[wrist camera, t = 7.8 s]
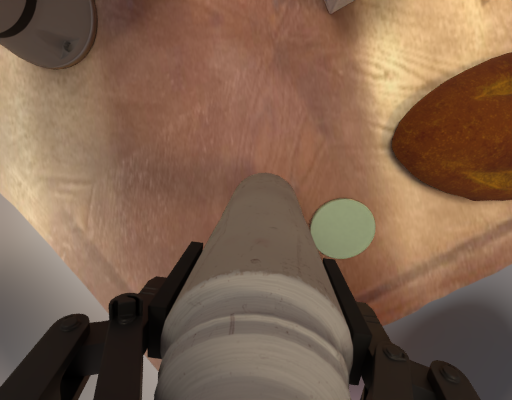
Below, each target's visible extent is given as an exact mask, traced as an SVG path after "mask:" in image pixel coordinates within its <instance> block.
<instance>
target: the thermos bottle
mask: <svg viewBox="0 0 512 400" xmlns="http://www.w3.org/2000/svg"><path fill="white" fill-rule="evenodd" d="M160 353H161V358H162V362H161V365H160V369H159V372H158V384H157V387H156V390H155V394H154V400H351V397H350V393H349V375H350V371H351V368H352V364H353V345H352V340H351V336H350V331H349V328H348V325H347V323H346V320H345V318H344V315H343V313H342V310H341V308H340V305H339V303H338V300H337V298H336V295H335V293H334V290H333V288H332V285H331V283H330V280H329V278H328V275H327V273H326V270H325V268H324V265H323V263H322V260H321V258H320V255H319V253H318V250H317V248H316V245H315V242H314V240H313V237H312V235H311V232H310V230H309V227H308V225H307V223H306V221H305V219H304V217H303V215H302V211H301V207H300V205H299V202H298V200H297V197H296V195H295V193H294V191H293V188H292V187H291V186H290V185H289V183H288V182H286V181H285V180H284V179H283V178H281V177H279V176H277V175H274V174H270V173H258V174H254V175H251V176H249V177H247V178H246V179H244V180H243V181H242V182H241V183H240V184H239V185H238V186H237V188H236V190H235V191H234V193H233V195H232V197H231V199H230V201H229V203H228V205H227V206H226V208H225V210H224V212H223V214H222V217H221V219H220V221H219V222H218V224H217V226H216V227H215V229H214V231H213V233H212V234H211V236H210V238H209V240H208V242H207V244H206V245H205V247H204V249H203V251H202V253H201V255H200V257H199V259H198V260H197V262H196V264H195V266H194V268H193V270H192V272H191V273H190V275H189V277H188V279H187V281H186V283H185V285H184V286H183V288H182V290H181V292H180V294H179V296H178V298H177V299H176V301H175V303H174V305H173V307H172V309H171V311H170V313H169V314H168V316H167V318H166V320H165V324H164V327H163V331H162V334H161V348H160Z"/></svg>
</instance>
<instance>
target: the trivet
mask: <svg viewBox="0 0 512 400" xmlns="http://www.w3.org/2000/svg"><path fill="white" fill-rule="evenodd" d="M310 232H311V235H312V237H313V240H314V242H315V245H316V248H317V249H318V250H319V251H320V252H322V253H323V254H325V255H327V256H329V257H332V258H337V259H345V258H350V257H353V256H356V255H358V254H360V253H361V252H362V251H364V250H365V249H366V248H367V247H368V246H369V244H370V243H371V241H372V239H373V237H374V234H375V220H374V217H373V215H372V213H371V212H370V210H369V209H368V208H367V207H366V206H365V205H363V204H362V203H360V202H359V201H356V200H354V199H349V198H339V199H334V200H331V201H329V202H327V203H325V204H324V205H322V206H321V207H320V208H319V209H318V210H317V211H316V213H315V214H314V216H313V218H312V220H311V224H310Z"/></svg>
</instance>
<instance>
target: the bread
mask: <svg viewBox="0 0 512 400" xmlns="http://www.w3.org/2000/svg"><path fill="white" fill-rule="evenodd" d="M392 149H393V151H394V153H395V155H396V157H397V159H398V160H399V161H400V162H401V163H402V164H403V165H404V166H405V167H406V168H407V169H408V170H409V172H410V173H411V174H413V175H414V176H415V177H417V178H418V179H420V180H421V181H422V182H424V183H426V184H428V185H430V186H433V187H435V188H437V189H439V190H441V191H444V192H446V193H450V194H454V195H458V196H461V197H465V198H468V199H470V200H473V201H485V200H500V201H503V200H512V53H507V54H504V55H501V56H498V57H495V58H492V59H490V60H488V61H485V62H483V63H481V64H479V65H477V66H474V67H472V68H470V69H468V70H466V71H464V72H462V73H460V74H458V75H457V76H455V77H453V78H451V79H449V80H447V81H445V82H444V83H443V84H441V85H440V86H438V87H437V88H435V89H434V90H433V91H431V92H430V93H429V94H427V95H426V96H425V97H424V98H423V99H421V100H420V101H419V102H418V103H417V104H415V105H414V106H413V107H412V108H411V109H410V111H409V112H408V113H407V114H406V115H405V116H404V118H403V119H402V120H401V121H400V122H399V125H398V127H397V129H396V131H395V134H394V136H393V138H392Z"/></svg>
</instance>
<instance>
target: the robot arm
mask: <svg viewBox="0 0 512 400" xmlns="http://www.w3.org/2000/svg"><path fill="white" fill-rule="evenodd" d="M96 31H97V12H96V7H95V3H94V0H0V44H1V45H2V46H4V47H5V48H7V49H8V50H10V51H11V52H12V53H14V54H15V55H17V56H18V57H20V58H22V59H24V60H26V61H28V62H30V63H32V64H35V65H38V66H42V67H45V68H50V69H64V68H68V67H71V66H73V65H75V64H77V63H78V62H80V61H81V60H82V59H83V58H84V57H85V56H86V55H87V54H88V52H89V51H90V49H91V47H92V45H93V43H94V40H95V36H96ZM202 251H203V243H200V242H191V243H190V245H189V246H188V248H187V249H186V251H185V252H184V254H183V255H182V257H181V258H180V260H179V261H178V262H177V264H176V265H175V267H174V268H173V270H172V271H171V273H170V274H169V276H168V277H167V278H164V277H157V276H156V277H154V278H153V279H151V280H149V281H148V282H147V284H146V285H145V286H144V288H143V289H142V290H141V291H140V293H139V294H136V293H125V294H121V295H119V296H116V297H115V298H113V299H112V300H111V301H110V303H109V320H108V321H102V322H93V323H89V318H88V316H86V315H84V314H71V315H68V316H65V317H63V318H61V319H59V320H57V321H56V322H55V323H54V324H53V325H52V326H51V327H50V328H49V330H48V331H47V332H46V333H45V334H44V336H43V337H42V338H41V339H40V341H39V342H38V343H37V344H36V345H35V346H34V348H33V349H32V350H31V351H30V352H29V353H28V355H27V356H26V357H25V358H24V359H23V361H22V362H21V363H20V364H19V366H18V367H17V368H16V369H15V370H14V371H13V373H12V374H11V375H10V376H9V377H8V379H7V380H6V381H5V382H4V383H3V385H2V386H1V387H0V400H78V398H79V397H80V394H81V393H82V391H83V389H84V387H85V385H86V383H87V381H88V379H89V377H90V375H94V374H98V379H97V384H96V389H95V394H94V399H93V400H142V379H143V355H144V353H145V352H146V350H147V348H148V357H151V358H158V359H162V358H161V353H160V348H161V334H162V331H163V327H164V324H165V320H166V318H167V316H168V314H169V313H170V311H171V309H172V307H173V305H174V303H175V301H176V299H177V298H178V296H179V294H180V292H181V290H182V288H183V286H184V285H185V283H186V281H187V279H188V277H189V275H190V273H191V272H192V270H193V268H194V266H195V264H196V262H197V260H198V259H199V257H200V255H201V253H202ZM322 263H323V265H324V268H325V270H326V273H327V275H328V278H329V280H330V283H331V285H332V288H333V290H334V293H335V295H336V298H337V300H338V303H339V305H340V308H341V310H342V313H343V315H344V318H345V320H346V323H347V325H348V328H349V331H350V336H351V340H352V345H353V364H352V368H351V371H350V375H349V384H351V385H359V381H360V377H361V376H362V378H363V381H364V384H365V386H364V389H363V392H362V395H361V399H360V400H480V398H479V396H478V395H477V393H476V391H475V390H474V388H473V387H472V385H471V383H470V382H469V380H468V379H467V377H466V376H465V375H464V374H463V373H462V372H461V371H460V370H459V369H457V368H456V367H454V366H453V365H451V364H449V363H446V362H444V361H438V360H436V361H433V362H432V363H431V365H430V368H429V367H426V366H424V365H421V364H419V363H416V362H413V361H411V360H409V357H408V355H407V354H406V353H405V352H404V350H402V349H401V348H400V347H398V346H397V345H395V344H393V343H392V342H391V341H390V339H389V337H388V335H387V334H386V332H385V331H384V329H383V327H382V325H381V324H380V321H379V320H378V318H377V316H376V314H375V313H374V311H373V309H372V308H370V307H369V306H368V305H367V304H366V303H362V302H356V301H355V299H354V297H353V295H352V293H351V291H350V289H349V287H348V285H347V283H346V281H345V279H344V277H343V275H342V273H341V271H340V269H339V267H338V265H337V263H336V261H335V260H334V259H326V258H323V262H322Z"/></svg>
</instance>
